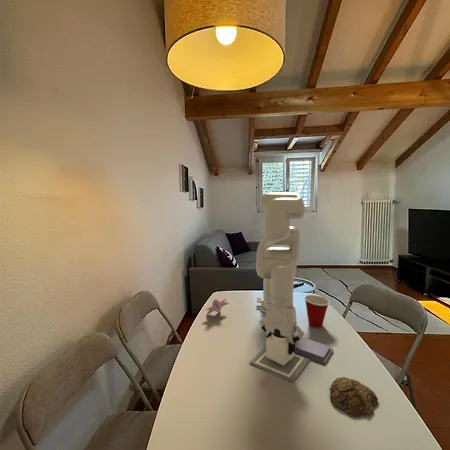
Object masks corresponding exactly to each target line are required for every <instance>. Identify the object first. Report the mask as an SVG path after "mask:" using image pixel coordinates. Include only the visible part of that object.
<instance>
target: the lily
mask: <svg viewBox="0 0 450 450" xmlns="http://www.w3.org/2000/svg"><path fill="white" fill-rule="evenodd" d="M228 304H230V303H229V302H228V301H227V298H224V299H223V300H221V301H219V300H218V299H214V300H212V303H211V306H209V307H207V309H205V311H207V313H206V315H207V316H208V315H210V314H211V313H213V312H216V313H219V314H220V317H221V320H222V321H223V317H222V313H221V310H222V308H223V307H224V306H227V305H228Z"/></svg>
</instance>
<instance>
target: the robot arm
mask: <svg viewBox="0 0 450 450" xmlns="http://www.w3.org/2000/svg"><path fill="white" fill-rule="evenodd" d="M260 204H261V209H262V211H263V212H264V215H265V236H264V237H263V238H262V239H261V240H260V242H259V243H258V245H257V249H256V260H255V261H256V273H257V276H258V277H259V278H262V279H263V285H262V286H263V287H262V288H263V291H262V293H263V296H262V297H259V296H258V297H257V298H256V302H257V303H258V304H260V305H259V310H260V311H261V312H263V313H265V317H263V318H261V319H260V320H258V322H259V325H260V326H261V329H262V330H263V332H264V335H265V336H266V337H265V340H266V339H267V338H268V337H269V336H271V335H272V333H274V329H278V330H280V335H282V336H285V337H288V338H289V340H290V343H289V355H291V354H292V353H293V352H295V346H296V343H297V342H299V341H300V340H301V339H303V338H304V336H305V335H306V334H305V332H304V331H303V330H302V329H301V328H300V326H298V325H297V311H296V306H295V304H294V282H295V281H294V277H295V275H296V274H297V266H298V264H299V259H300V257H299V256H300V242H301V241H300V231H299V228H297V227H296V226H291V220H294V219H295V220H300V219H302V218H303V217H304V216H305V210H306V209H305V208H306V207H305V203H304V199H303V198H302V196H301V195H300V194H299V192H266V193H263V194H261V197H260ZM270 246H272V247H270ZM295 333H297V335H296V334H295Z"/></svg>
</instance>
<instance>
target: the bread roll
mask: <svg viewBox="0 0 450 450" xmlns="http://www.w3.org/2000/svg"><path fill="white" fill-rule="evenodd" d="M329 395H330V396H329V398H330V401H331V403H332V404H333V406H335V407H337V408H340V409H342V410H343V411H345V413H346V414H347V415H348V416H350V417H354V418H359V417H362V416H371V415H372V413H374V411H375V407H376V406H377V405H378V404H379V403H378V399H379V398H378V396H377V395H376V392H375V391H373V389H371V388H370V387H368V386H367V385H365V384H363V383H361V382H360V381H358V380H356V379H352V378H349V377H345V376H342V377H337V378H335V380H334V381H332V382H331V384H330V387H329Z"/></svg>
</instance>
